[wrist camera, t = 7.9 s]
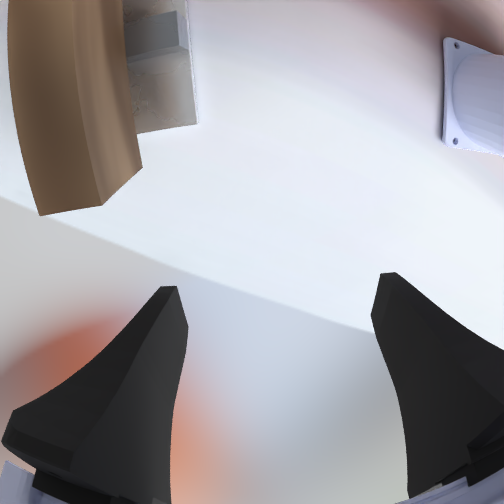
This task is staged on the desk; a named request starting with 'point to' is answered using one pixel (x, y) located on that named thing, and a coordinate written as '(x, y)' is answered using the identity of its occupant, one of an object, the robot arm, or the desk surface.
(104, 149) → the walnut rod
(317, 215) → the desk surface
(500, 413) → the robot arm
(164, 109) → the balance stand
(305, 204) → the desk surface
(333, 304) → the desk surface
